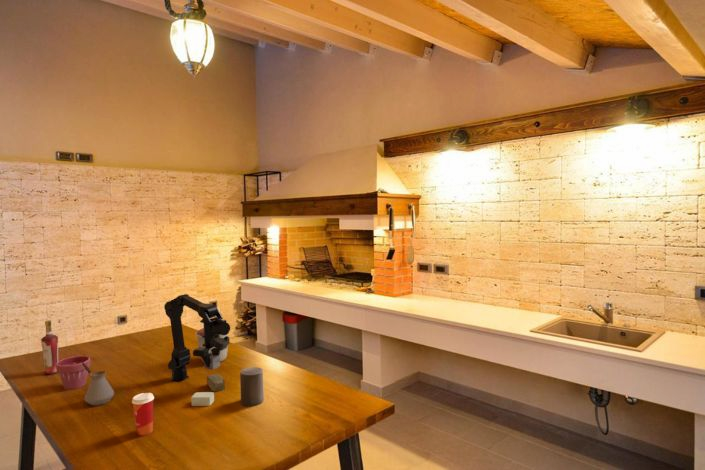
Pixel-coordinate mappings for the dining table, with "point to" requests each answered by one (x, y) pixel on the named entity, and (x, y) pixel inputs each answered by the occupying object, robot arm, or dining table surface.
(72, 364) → the plant pot
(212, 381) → the stone block
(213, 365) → the gray cube
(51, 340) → the liquor
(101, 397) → the coffee pot
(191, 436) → the dining table surface
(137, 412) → the paper cup
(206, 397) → the beige brick
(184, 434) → the dining table surface
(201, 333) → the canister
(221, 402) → the dining table surface
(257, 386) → the pillar candle
